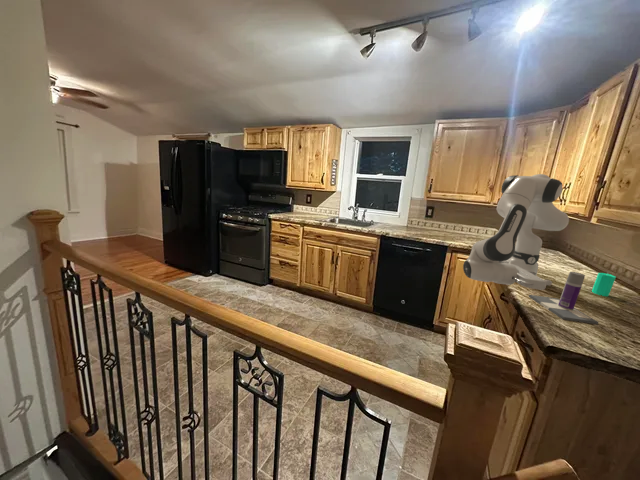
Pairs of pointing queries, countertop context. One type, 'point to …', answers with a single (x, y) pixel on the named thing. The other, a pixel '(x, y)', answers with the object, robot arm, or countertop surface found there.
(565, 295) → the container
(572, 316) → the letter board
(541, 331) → the countertop surface
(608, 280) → the candle
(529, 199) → the robot arm
